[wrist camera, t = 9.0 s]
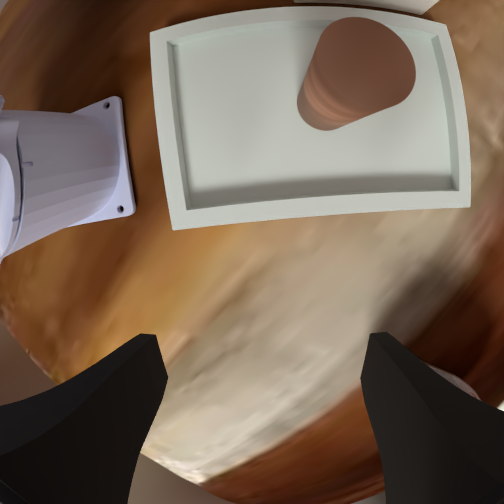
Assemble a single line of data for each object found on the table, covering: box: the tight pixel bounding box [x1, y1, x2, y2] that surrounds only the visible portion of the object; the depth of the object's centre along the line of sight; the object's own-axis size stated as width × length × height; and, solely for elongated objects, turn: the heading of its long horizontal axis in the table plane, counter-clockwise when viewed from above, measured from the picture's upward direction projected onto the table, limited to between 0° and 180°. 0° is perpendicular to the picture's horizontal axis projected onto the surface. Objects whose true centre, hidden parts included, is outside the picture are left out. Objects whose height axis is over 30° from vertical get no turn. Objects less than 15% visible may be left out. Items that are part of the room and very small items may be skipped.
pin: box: [297, 17, 416, 131], centre depth 10 cm, size 3×3×8 cm
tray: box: [150, 6, 471, 230], centre depth 14 cm, size 18×12×2 cm, turn 97°
